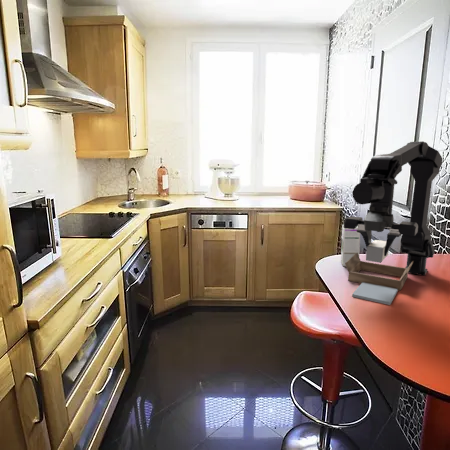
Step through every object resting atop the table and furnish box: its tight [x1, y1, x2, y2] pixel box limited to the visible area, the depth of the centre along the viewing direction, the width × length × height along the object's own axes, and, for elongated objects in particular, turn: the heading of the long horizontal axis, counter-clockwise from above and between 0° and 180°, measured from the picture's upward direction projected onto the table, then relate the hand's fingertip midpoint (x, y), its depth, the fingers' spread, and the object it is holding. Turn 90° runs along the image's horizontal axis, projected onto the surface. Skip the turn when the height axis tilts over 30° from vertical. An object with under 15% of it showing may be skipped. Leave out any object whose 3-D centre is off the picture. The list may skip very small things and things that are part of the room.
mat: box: [351, 282, 399, 306], centre depth 99 cm, size 11×10×1 cm
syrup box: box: [340, 224, 361, 267], centre depth 124 cm, size 6×6×14 cm
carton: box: [345, 253, 414, 291], centre depth 110 cm, size 13×18×6 cm
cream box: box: [365, 239, 389, 264], centre depth 99 cm, size 10×4×4 cm, turn 144°
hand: (377, 254), depth 99 cm, fingers closed on cream box, 4 cm apart
